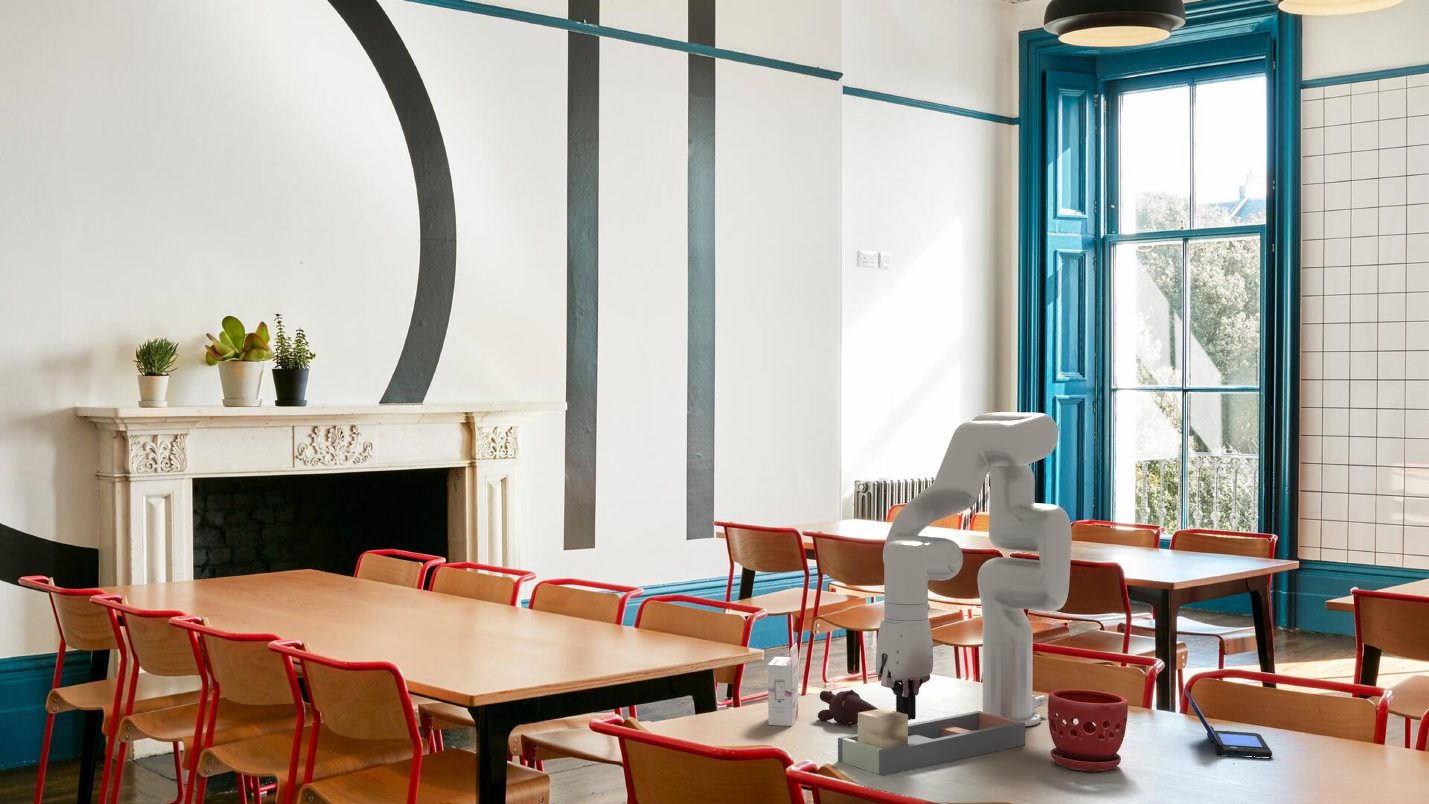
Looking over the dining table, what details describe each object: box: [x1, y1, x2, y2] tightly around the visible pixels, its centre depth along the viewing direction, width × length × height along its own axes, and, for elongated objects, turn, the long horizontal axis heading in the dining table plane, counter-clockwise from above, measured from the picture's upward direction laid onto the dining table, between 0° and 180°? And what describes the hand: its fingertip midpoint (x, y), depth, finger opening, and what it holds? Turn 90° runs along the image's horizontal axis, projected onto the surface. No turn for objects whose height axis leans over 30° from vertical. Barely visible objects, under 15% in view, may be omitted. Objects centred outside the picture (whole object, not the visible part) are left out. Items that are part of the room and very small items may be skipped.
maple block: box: [857, 707, 909, 749], centre depth 227 cm, size 6×6×6 cm
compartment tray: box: [837, 710, 1026, 777], centre depth 235 cm, size 35×11×4 cm, turn 126°
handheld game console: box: [1184, 688, 1273, 758], centre depth 240 cm, size 16×13×9 cm
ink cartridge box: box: [767, 642, 799, 727], centre depth 258 cm, size 9×5×15 cm, turn 168°
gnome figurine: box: [816, 689, 879, 728], centre depth 255 cm, size 7×7×15 cm
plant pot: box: [1047, 688, 1129, 772], centre depth 227 cm, size 13×13×12 cm
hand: (905, 718), depth 231 cm, fingers closed
